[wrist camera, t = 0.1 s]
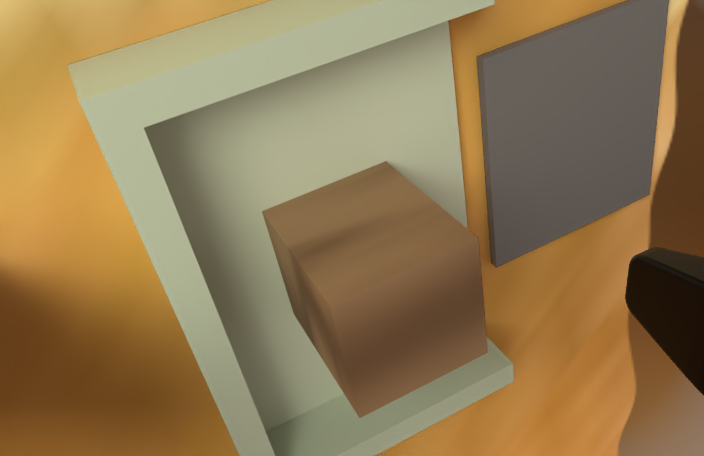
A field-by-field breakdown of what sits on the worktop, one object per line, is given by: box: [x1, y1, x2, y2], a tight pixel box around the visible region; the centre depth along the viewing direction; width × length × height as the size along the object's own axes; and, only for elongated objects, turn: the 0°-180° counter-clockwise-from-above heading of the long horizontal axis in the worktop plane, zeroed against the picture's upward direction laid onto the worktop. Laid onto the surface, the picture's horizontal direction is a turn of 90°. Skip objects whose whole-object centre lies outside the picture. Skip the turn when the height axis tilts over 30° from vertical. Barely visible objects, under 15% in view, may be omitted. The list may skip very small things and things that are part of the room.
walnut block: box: [262, 161, 488, 418], centre depth 23 cm, size 5×5×6 cm
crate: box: [67, 0, 514, 456], centre depth 24 cm, size 18×12×3 cm, turn 11°
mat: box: [477, 0, 669, 267], centre depth 29 cm, size 10×9×1 cm
